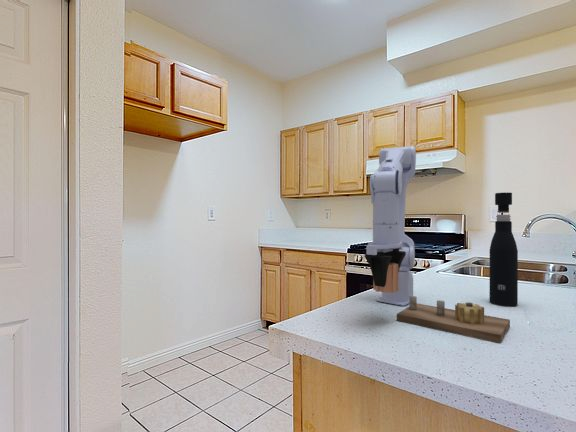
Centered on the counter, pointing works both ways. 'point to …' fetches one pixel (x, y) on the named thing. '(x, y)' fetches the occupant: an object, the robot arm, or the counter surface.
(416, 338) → the counter surface
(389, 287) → the gear
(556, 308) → the counter surface
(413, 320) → the gear board
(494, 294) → the black bottle
